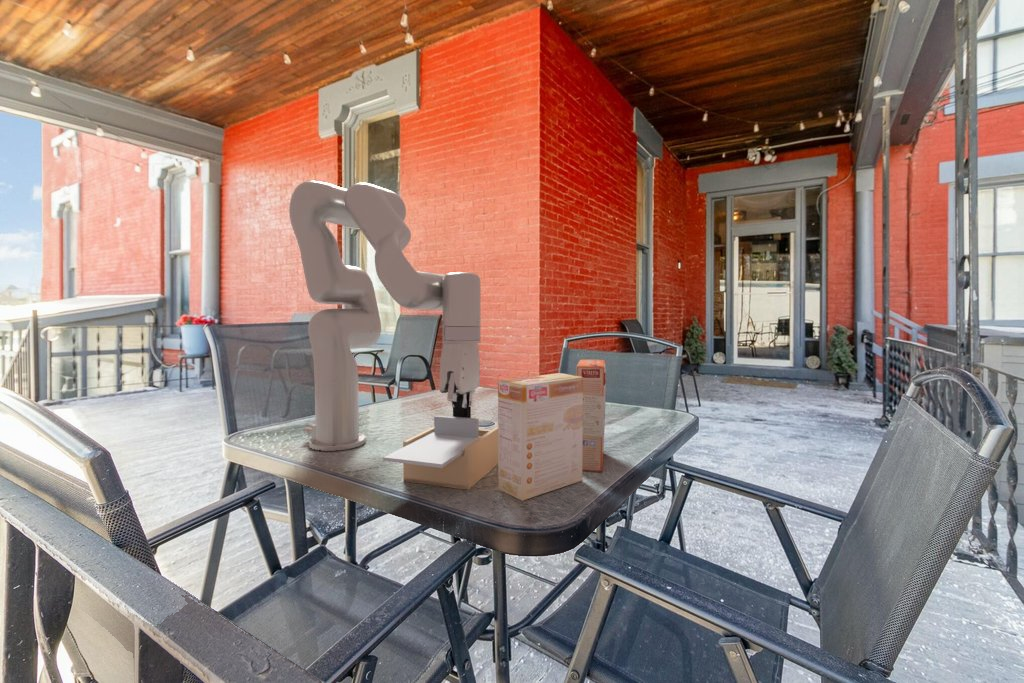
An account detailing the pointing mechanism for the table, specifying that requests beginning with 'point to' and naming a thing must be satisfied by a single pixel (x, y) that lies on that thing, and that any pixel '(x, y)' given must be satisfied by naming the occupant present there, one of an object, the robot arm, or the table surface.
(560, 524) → the table surface
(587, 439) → the cracker box
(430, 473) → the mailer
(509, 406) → the coffeecake box
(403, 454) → the lid
